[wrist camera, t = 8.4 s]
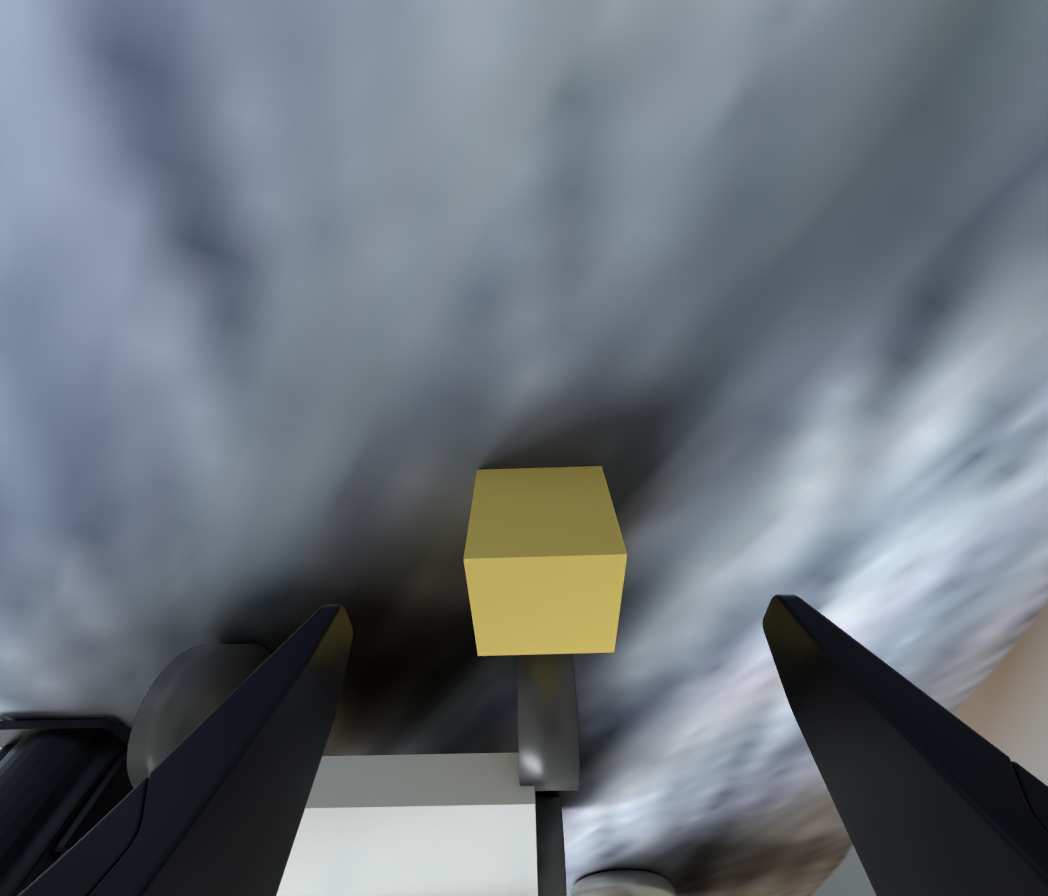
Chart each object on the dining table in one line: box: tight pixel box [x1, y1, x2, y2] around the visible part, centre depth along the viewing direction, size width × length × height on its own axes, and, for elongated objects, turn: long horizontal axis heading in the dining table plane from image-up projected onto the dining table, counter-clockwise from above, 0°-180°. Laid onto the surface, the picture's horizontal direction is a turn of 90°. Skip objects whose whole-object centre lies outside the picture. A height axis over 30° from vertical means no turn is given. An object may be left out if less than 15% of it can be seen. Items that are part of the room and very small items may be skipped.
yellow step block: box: [464, 466, 627, 656], centre depth 14 cm, size 4×6×4 cm, turn 2°
